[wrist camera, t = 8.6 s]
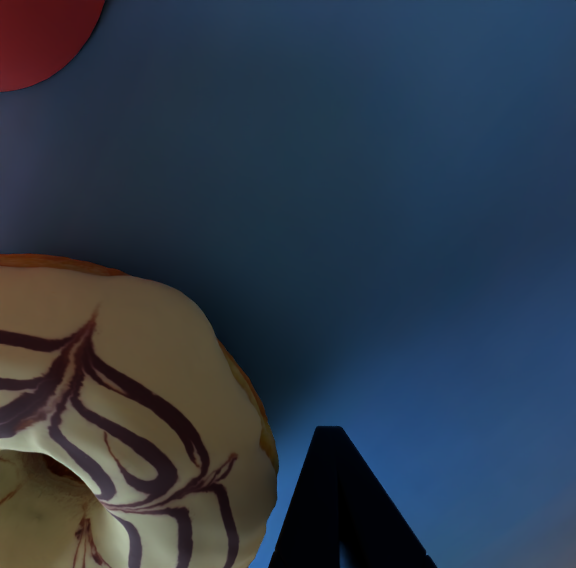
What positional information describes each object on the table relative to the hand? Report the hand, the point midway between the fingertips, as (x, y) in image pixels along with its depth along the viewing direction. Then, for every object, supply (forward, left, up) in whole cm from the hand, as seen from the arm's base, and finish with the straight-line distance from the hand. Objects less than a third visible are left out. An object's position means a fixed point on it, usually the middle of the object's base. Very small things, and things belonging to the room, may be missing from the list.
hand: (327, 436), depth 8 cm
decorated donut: (0, +7, -2) cm, 7 cm away
